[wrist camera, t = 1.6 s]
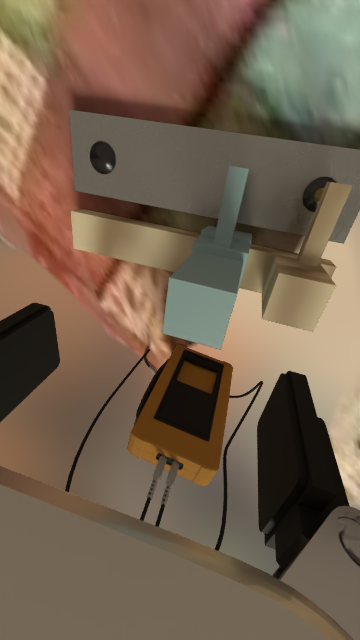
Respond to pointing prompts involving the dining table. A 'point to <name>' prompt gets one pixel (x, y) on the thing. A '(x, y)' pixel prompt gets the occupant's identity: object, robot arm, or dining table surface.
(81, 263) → the dining table surface
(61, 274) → the dining table surface
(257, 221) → the flange plate
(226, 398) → the multimeter
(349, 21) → the dining table surface
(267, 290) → the trammel rail
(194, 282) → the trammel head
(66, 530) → the robot arm
